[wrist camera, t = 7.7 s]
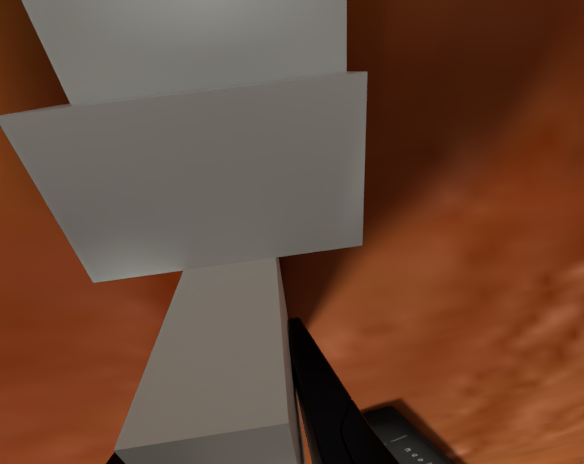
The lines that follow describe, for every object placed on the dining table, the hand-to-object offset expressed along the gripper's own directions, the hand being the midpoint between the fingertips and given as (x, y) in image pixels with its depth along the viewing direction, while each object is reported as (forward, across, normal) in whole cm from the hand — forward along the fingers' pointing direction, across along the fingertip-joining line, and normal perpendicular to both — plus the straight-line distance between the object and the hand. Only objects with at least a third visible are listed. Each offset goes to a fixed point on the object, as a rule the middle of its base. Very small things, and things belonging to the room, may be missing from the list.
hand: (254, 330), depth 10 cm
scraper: (+1, 0, -2) cm, 2 cm away
